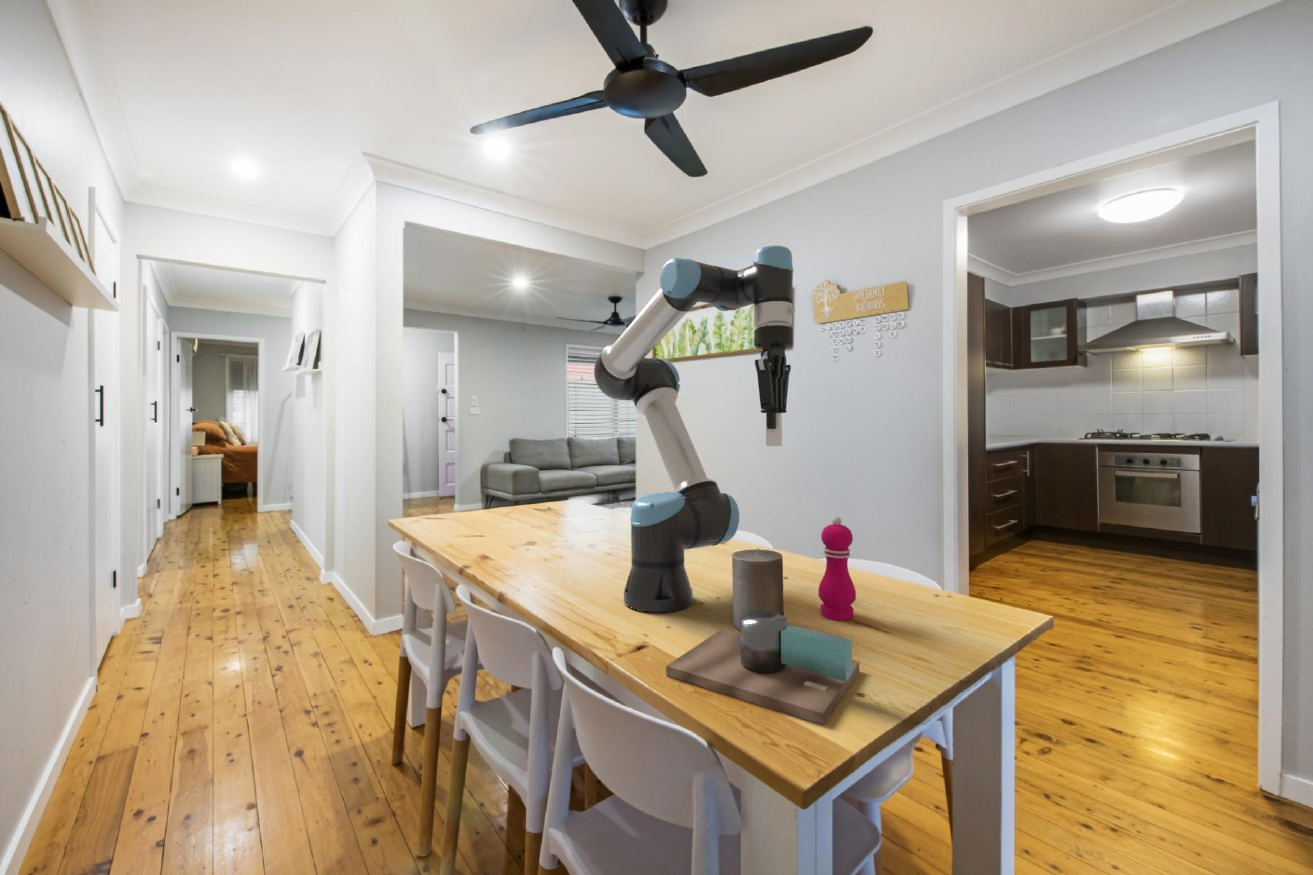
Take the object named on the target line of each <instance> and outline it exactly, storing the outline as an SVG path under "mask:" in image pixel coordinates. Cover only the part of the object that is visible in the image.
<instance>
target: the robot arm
mask: <svg viewBox="0 0 1313 875" xmlns="http://www.w3.org/2000/svg"><path fill="white" fill-rule="evenodd" d="M752 263H753V264H752V265H749V266H747V267H745V268H742V269H739V270H736V269H735V270H734V269H730V268H727V267H723V266H718V265H713V264H712V265H711V264H708V263H703V262H700V261H696V260H693V259H690V258H681V257H679V258H678V257H674V258H670V259H669V260H668V261H666V263H665V264H664V265H663V268H662V271H661V273H660V277H659V278H660V279H659V286H660V289H659V290H658V291H657V292H656V293H655V294H654V296H653V297H652V298H651V299H650V300H649V302H648V303H647V304H646V305H645V306H644V307H643V309H642V310H640V312H639V314H638V315H637V316H636V317H635V318H634V319H633V321H632V322H631V323H630V324H629V325H628V326H627V328H626V329H625V330H624V331H623V332H622V334H621V335H620V336H619V337H618V338H617V340H615V342H614V343H612V344H608V345H607V346H605V347H604V348H603V349H602V351H601V352H599V355H598V357H597V358H596V360H595V363H594V369H593V376H594V381H595V383H596V385H597V387H598V389H599V390H600V391H601V392H602V393H603V394H604V395H605V396H607V397H608V398H610V399H612V400H617V401H632V402H633V404H634V407H635V409H636V411H637V412H638V413H639V414H641V415H643V416H645V419H646V421H647V424H648V427H649V429H650V431H651V434H652V437H653V439H654V442H655V444H656V447H657V450H658V452H659V454H660V457H661V460H662V462H663V465H664V467H665V470H666V472H667V475H668V477H669V480H670V482H671V485H672V488H673V490H674V491H672V492H671V491H668V492H667V491H666V492H657V493H651V494H647V495H643V496H640V497H638V498H635V501H634V502H633V503H632V505H631V510H630V511H631V513H630V518H629V523H630V527H631V528H630V530H631V531H630V532H631V533H630V534H631V535H630V540H631V541H630V543H631V545H630V546H631V549H630V550H631V566H630V570H629V574H628V577H627V581H626V583H625V588H624V590H623V603H624V602H625V604H627V605H628V606H629V607H632V608H635V609H639V610H643V611H642V612H644V611H649V612H648V613H670V612H676V610H677V611H680V609H681V610H684V609H686V608H688V607H690V606H691V605H692V604H693V596H694V595H693V593H694V592H693V589H692V587H691V583H690V579H689V577H688V572H687V570H686V567H685V550H691V549H698V548H704V547H712V546H713V547H714V546H718V545H719V544H723V543H727V542H729V541H731V540H732V539H733V537H734V536H735V535H736V533H737V531H738V528H739V524H740V510H739V505H738V503H737V502H736V500H735V499H734V497H733V496H731V495H729V494H728V493H725V492H723V493H722V492H721V490H720V488H719V485H718V483H717V481H716V480H714V479H710V478H708V476H707V474H706V471H705V468H704V467H703V464H702V462H701V460H700V458H699V455H698V453H697V451H696V448H695V447H694V443H693V442H692V439H691V436H690V434H689V432H688V430H687V428H686V425H685V423H684V420H683V418H682V415H681V412H680V411H679V409H678V407H677V405H676V402H677V400H678V397H679V396H678V394H679V392H680V388H681V385H680V383H679V382H681V381H680V375H679V372H678V370H677V368H676V366H675V365H674V364H673V363H672V362H670V361H669V360H667V359H661V358H658V357H646V356H647V355H648V354H649V353H650V352H651V351H652V350H653V349H654V348H655V347H656V346H657V345H658V343H660V342H661V341H662V340H663V338H665V337H666V336H667V334H668V333H669V332H670V331H672V329H673V328H674V327H675V326H676V325H677V324H678V323H679V322H680V321H681V320H682V318H684V316H686V315H687V313H688V312H689V311H690V310H692V308H693V307H695V305H696V304H698V303H706V304H710V305H712V306H713V307H715V309H717V310H718V311H721V312H728V311H729V312H730V311H736V310H739V309H741V308H745V307H747V306H748V307H749V306H751V305H753V326H754V328H755V330H754V331H753V336H754V338H753V340H754V341H753V343H754V344H753V346H754V347H755V349H758V350H760V359H759V358H758V359H754V365H755V370H756V374H757V385H758V394H759V404H760V409H761V410H760V413H761V414H765V447H782V446H783V445H782V444H783V433H782V432H783V431H782V430H783V428H782V426H783V425H782V424H783V423H782V422H783V420H782V417H783V416H782V415H783V414H786V413H787V411H788V410H787V403H788V391H789V382H790V380H789V379H790V373H791V369H792V368H791V364H787V357H786V351H785V350H786V349H787V348H791V347H792V346H793V344H794V339H793V338H794V329H793V328H792V325H793V313H795V311H796V309H795V307H793V283H794V282H793V281H794V279H793V278H794V268H793V267H794V266H793V255H792V250H790V249H789V247H785V246H783V245H768V246H762V247H760V248H759V249H757V250H756V251H755V252H754V254H753V260H752ZM625 604H624V605H625ZM628 606H627V607H628ZM629 607H628V608H629ZM632 608H631V609H632ZM635 609H634V610H635ZM639 610H638V611H639Z"/></svg>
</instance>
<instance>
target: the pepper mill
mask: <svg viewBox="0 0 1313 875" xmlns="http://www.w3.org/2000/svg"><path fill="white" fill-rule="evenodd" d="M831 521H832V524H828V525H826V526H825V527H824V528H823V529H822V530H821V531H822V532H821V537H820V539H821V541H822V544H823V545H824V546H825V547H824V548H823V554H824V556H825V562H826V564H825V571H824V575H823V576H822V579H821V580H820V583H819V586H818V590H817V591H818V597H819V599H820V600H821V602H822V603H821V604H820V614H821V616H822V617H824V618H826V619H829V620H833V621H839V620H840V622H841V621H842V622H843V621H844V620H845V621H849V620H852V619H853V618H854V613H855V612H854V611H855V610H854V607H853V606H852V604H853V603H855V601H856V599H857V593H856V587H855V585H854V582H853V580H852V578H851V575H850V572H849V566H848V562H849V560H848V559H849V558H850V557H851V549H849V547H850V546H851V545H852V543H853V540H854V539H853V537H854V536H853V532H852V531H851V529H850V528H849V527H847V526H846V525H843V524H842V519H841V517H840V516H833V517H832V519H831Z"/></svg>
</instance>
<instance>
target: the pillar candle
mask: <svg viewBox="0 0 1313 875" xmlns="http://www.w3.org/2000/svg"><path fill="white" fill-rule="evenodd" d="M783 558H784V557H783V554H781V553H780V552H778V551H775V550H769V549H760V548H759V547H758V548H756V549H754V548H753V549H743V550H738V551H734V552H733V553H732V554H731V562H732V565H731V566H732V573H731V574H732V609H733V612H732V613H733V625H734V627H735V628H736V629H737V630H738V631H740V616H741V615H742V614H744V613H746V612H751V611H768V612H774V613H777V614H780V615H782V616H784V614H785V612H784V611H785V609H784V568H783V567H784V566H783V565H784V560H783ZM784 617H785V616H784Z"/></svg>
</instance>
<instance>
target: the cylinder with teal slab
mask: <svg viewBox="0 0 1313 875" xmlns="http://www.w3.org/2000/svg"><path fill="white" fill-rule="evenodd" d="M787 623H788V622H787V618H786V616H782V615H780V614H777V613H774V612H768V611H751V612H746V613H744V614H742V615H741V616H740V630H739V633H740V661H741V664H742V665H743V666H745V667H746V668H748V669H751V670H754V671H758V672H777V671H780V670H783V669H784V668H785V667H786V665H789V666H793V667H796V668H800V669H803V670H807V671H810V672H814V673H817V674H821V675H824V676H828V677H831V678H835V679H838V680H842V681H845V682H846V681H847V680H848V679H849V677H850V676H851V675H852V660H853V659H852V658H853V656H852V655H853V654H852V652H853V650H852V649H853V648H852V644H853V642H852V639H850V638H847V637H842V636H838V635H834V634H830V633H826V632H820V631H817V630H814V629H813V630H812V629H809V628H804V627H801V626H800V627H799V626H796V625H791V624H787Z"/></svg>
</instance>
